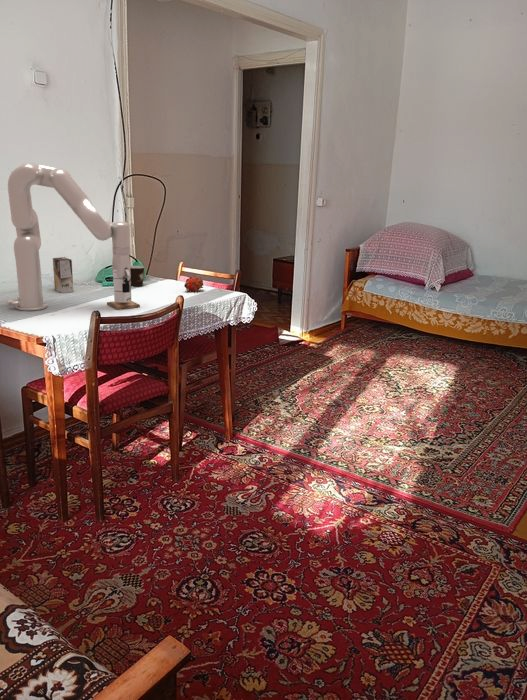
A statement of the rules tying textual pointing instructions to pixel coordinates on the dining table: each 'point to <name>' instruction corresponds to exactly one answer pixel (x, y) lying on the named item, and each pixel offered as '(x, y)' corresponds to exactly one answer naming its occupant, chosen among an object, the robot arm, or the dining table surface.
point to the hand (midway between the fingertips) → (122, 290)
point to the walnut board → (123, 305)
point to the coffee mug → (136, 275)
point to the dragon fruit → (193, 284)
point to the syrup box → (120, 289)
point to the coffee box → (63, 274)
